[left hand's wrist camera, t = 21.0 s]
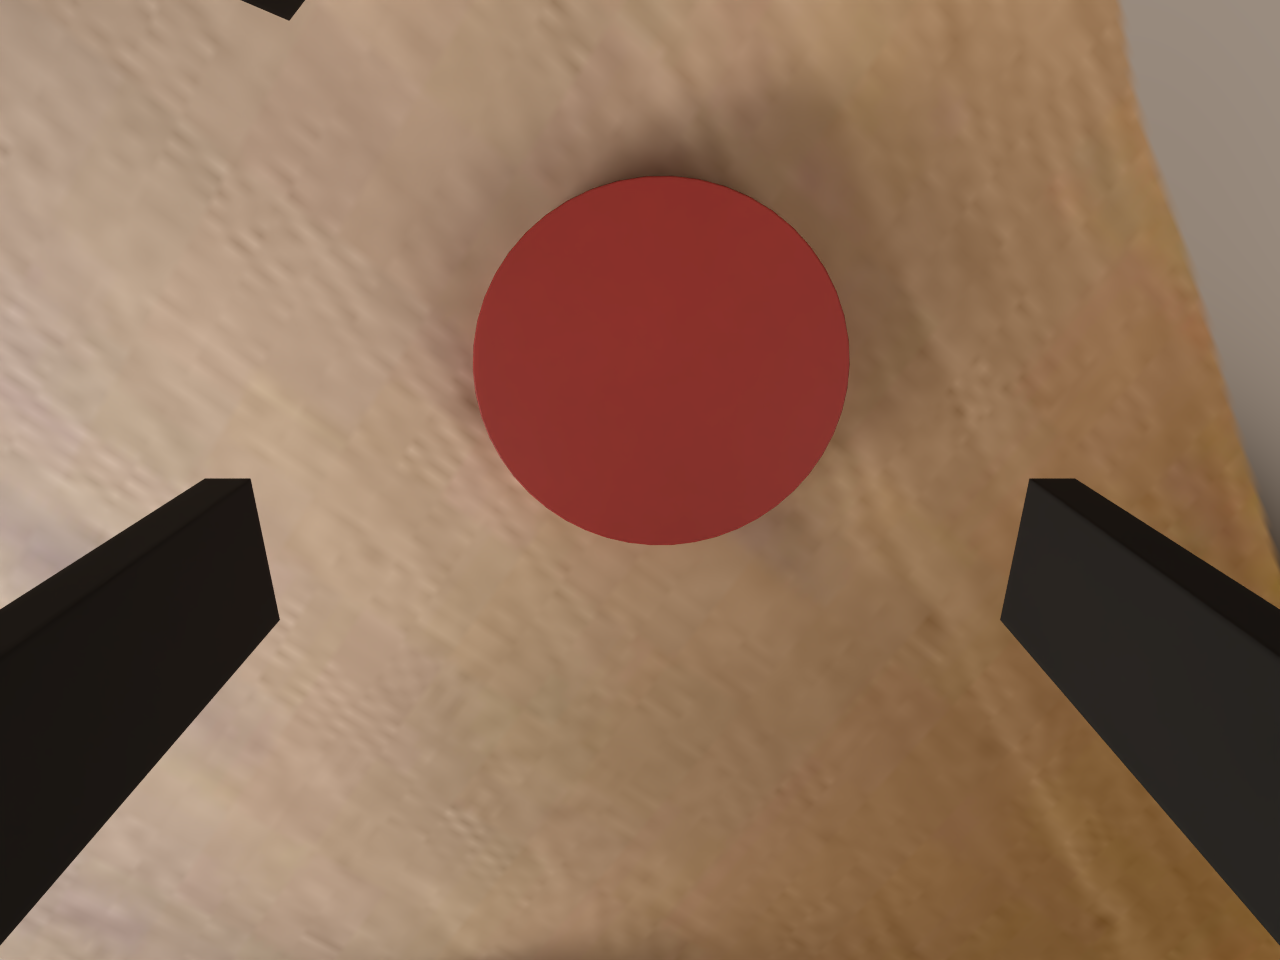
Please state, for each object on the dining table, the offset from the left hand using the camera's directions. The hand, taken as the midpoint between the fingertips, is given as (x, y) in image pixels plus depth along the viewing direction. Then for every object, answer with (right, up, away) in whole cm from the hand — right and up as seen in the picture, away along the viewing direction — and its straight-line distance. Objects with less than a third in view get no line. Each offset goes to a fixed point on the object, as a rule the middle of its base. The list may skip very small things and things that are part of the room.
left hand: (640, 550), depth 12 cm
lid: (+1, +4, +8) cm, 9 cm away
